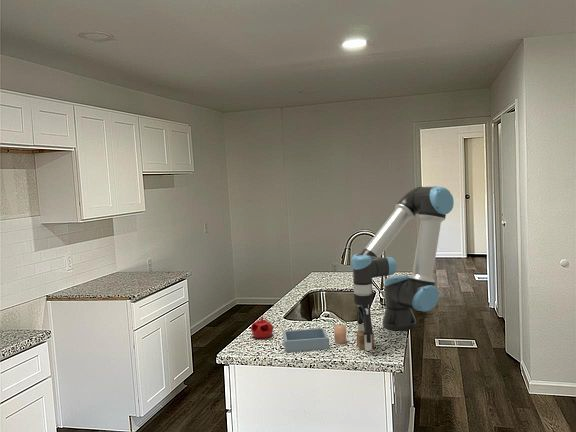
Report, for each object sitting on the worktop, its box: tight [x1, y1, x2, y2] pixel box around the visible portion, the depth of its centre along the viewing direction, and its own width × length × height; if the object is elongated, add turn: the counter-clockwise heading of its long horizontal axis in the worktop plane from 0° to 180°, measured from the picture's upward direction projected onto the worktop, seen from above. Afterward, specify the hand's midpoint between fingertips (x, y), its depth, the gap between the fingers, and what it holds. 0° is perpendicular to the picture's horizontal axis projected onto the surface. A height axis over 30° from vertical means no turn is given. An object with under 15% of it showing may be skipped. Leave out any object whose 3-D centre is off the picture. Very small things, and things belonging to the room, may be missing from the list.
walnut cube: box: [355, 330, 375, 351], centre depth 211 cm, size 6×6×6 cm
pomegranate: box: [250, 316, 274, 339], centre depth 233 cm, size 10×10×9 cm
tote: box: [282, 327, 330, 353], centre depth 218 cm, size 18×14×5 cm
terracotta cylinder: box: [333, 324, 348, 345], centre depth 219 cm, size 5×5×7 cm
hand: (364, 344), depth 211 cm, fingers open, 13 cm apart
